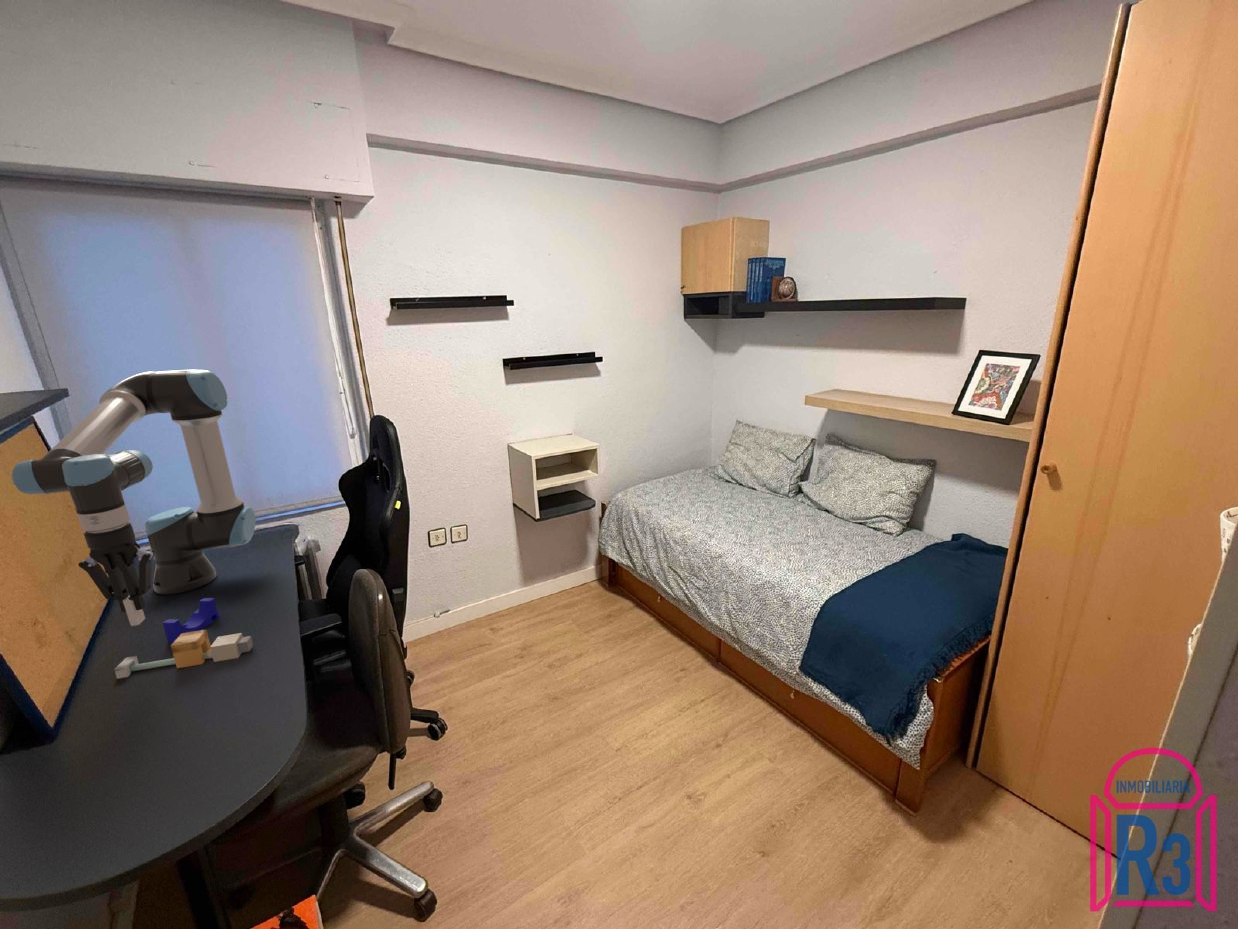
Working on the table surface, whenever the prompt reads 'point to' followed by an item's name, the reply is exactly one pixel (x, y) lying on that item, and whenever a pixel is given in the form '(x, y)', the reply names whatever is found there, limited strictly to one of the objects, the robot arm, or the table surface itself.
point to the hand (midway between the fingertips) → (138, 622)
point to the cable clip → (192, 620)
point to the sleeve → (190, 648)
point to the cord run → (218, 651)
